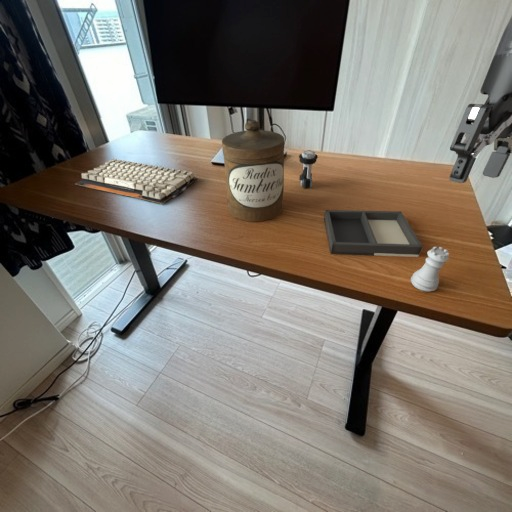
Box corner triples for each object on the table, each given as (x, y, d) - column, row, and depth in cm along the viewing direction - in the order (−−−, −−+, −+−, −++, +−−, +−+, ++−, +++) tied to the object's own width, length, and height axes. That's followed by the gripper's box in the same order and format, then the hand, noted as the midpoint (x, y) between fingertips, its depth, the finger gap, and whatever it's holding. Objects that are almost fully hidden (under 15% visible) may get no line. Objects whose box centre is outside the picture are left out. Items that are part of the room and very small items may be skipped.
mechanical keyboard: (73, 185, 88) (69, 175, 86) (118, 164, 102) (114, 155, 100) (165, 206, 76) (162, 195, 74) (202, 180, 89) (200, 170, 87)
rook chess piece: (439, 283, 50) (459, 250, 45) (431, 297, 48) (451, 263, 43) (414, 272, 53) (430, 239, 47) (406, 285, 50) (421, 251, 45)
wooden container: (233, 226, 67) (224, 132, 53) (225, 198, 78) (215, 115, 64) (290, 217, 69) (295, 125, 55) (274, 192, 80) (275, 110, 66)
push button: (292, 181, 86) (294, 149, 79) (308, 178, 87) (311, 147, 80) (301, 190, 81) (303, 157, 74) (317, 187, 82) (321, 154, 76)
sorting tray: (397, 220, 67) (401, 211, 65) (418, 257, 56) (423, 246, 54) (324, 219, 68) (325, 209, 67) (330, 254, 58) (332, 244, 56)
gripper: (537, 44, 29) (469, 191, 37) (597, 53, 34) (526, 181, 42) (466, 50, 35) (422, 177, 43) (527, 57, 40) (476, 169, 48)
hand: (473, 179), depth 43 cm, fingers open, 8 cm apart
